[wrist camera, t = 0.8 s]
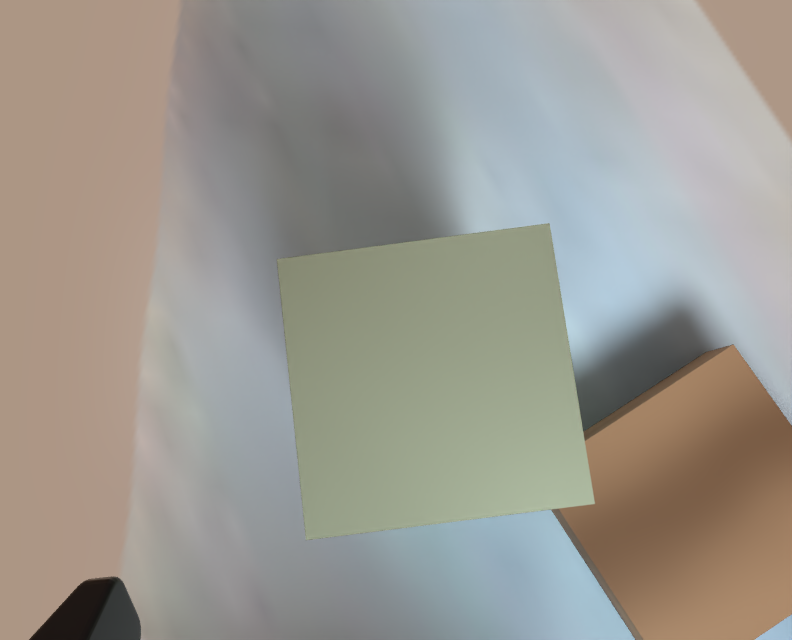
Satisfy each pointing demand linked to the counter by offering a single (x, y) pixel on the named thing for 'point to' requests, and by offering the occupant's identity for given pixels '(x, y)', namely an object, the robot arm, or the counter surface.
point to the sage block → (432, 382)
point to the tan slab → (692, 505)
